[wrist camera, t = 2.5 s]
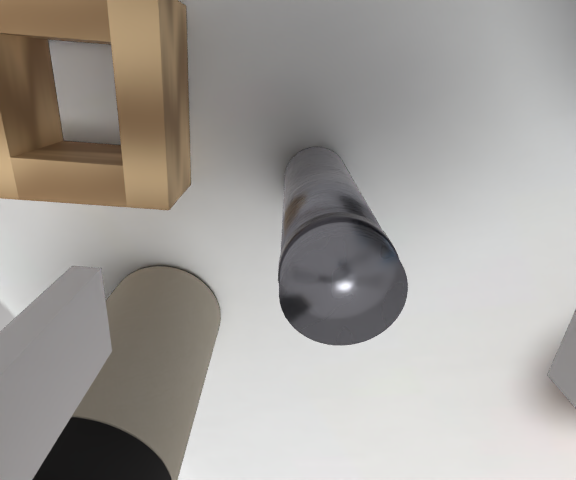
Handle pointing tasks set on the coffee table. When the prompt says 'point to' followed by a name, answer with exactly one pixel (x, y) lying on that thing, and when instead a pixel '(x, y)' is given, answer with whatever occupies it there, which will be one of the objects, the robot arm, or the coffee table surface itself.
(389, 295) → the metal canister
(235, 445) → the coffee table surface
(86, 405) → the travel mug
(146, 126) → the square frame
